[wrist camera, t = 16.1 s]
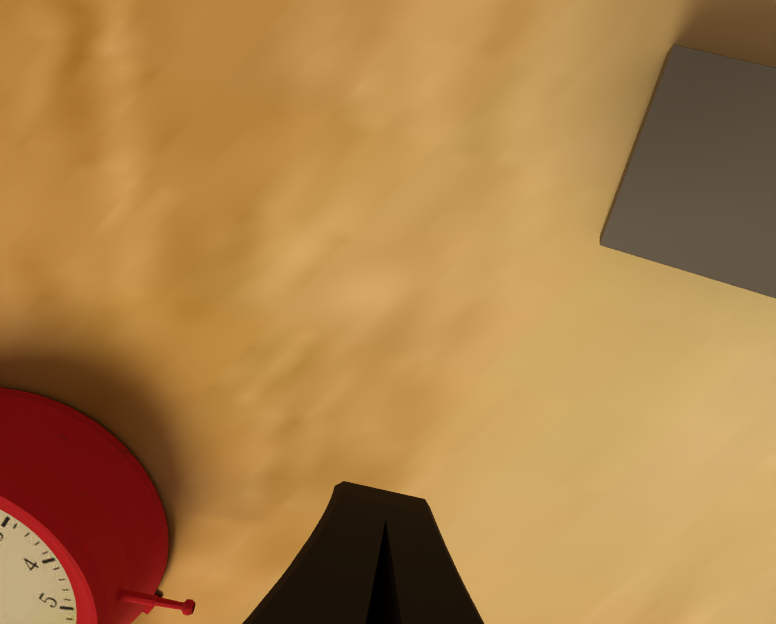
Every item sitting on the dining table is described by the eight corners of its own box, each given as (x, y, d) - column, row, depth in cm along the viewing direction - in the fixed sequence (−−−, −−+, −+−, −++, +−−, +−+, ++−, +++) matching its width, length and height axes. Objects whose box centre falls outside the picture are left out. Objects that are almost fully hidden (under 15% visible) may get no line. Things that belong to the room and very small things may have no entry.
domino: (667, 53, 17) (968, 123, 15) (599, 236, 18) (865, 316, 17) (674, 44, 15) (1007, 121, 14) (599, 244, 17) (891, 333, 15)
